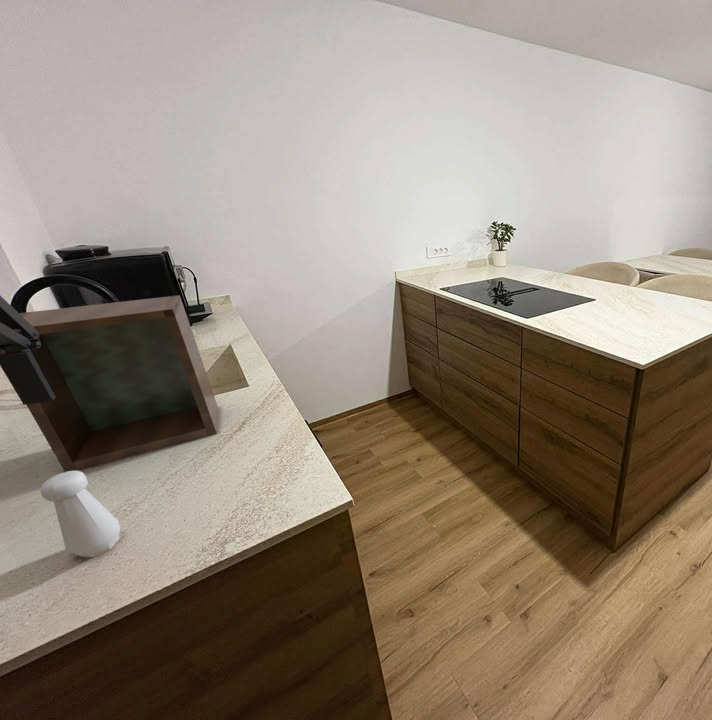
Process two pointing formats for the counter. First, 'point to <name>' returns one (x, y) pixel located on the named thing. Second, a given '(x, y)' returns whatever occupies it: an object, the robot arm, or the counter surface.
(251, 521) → the counter surface
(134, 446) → the brown wooden box
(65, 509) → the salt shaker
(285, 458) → the counter surface
